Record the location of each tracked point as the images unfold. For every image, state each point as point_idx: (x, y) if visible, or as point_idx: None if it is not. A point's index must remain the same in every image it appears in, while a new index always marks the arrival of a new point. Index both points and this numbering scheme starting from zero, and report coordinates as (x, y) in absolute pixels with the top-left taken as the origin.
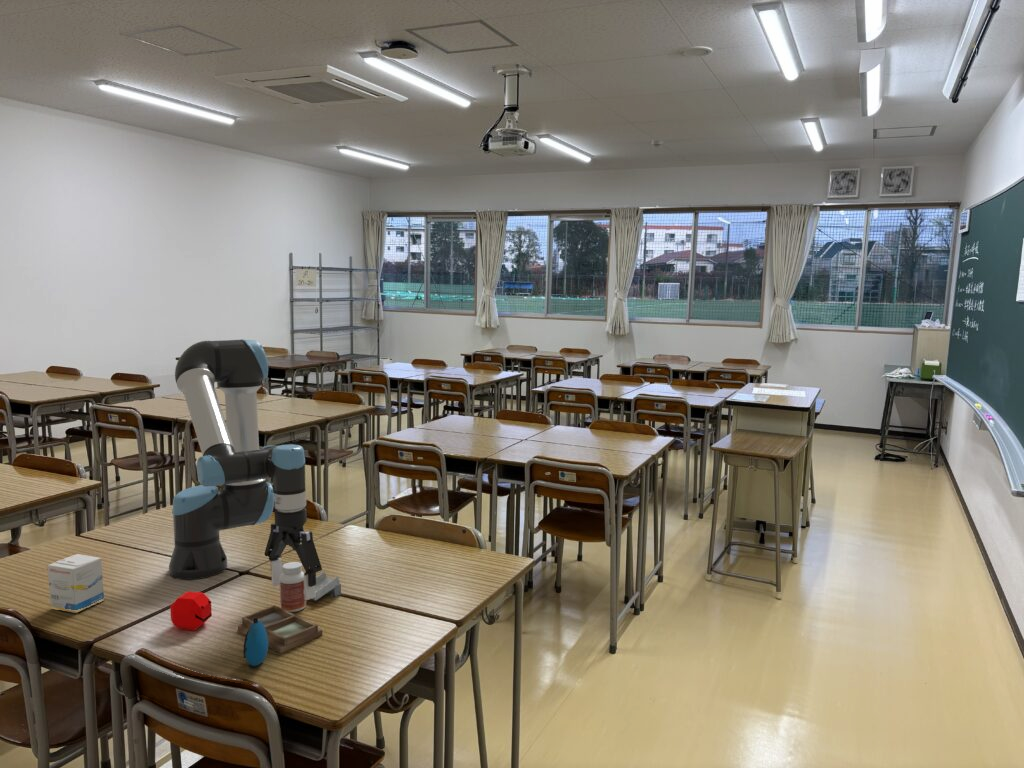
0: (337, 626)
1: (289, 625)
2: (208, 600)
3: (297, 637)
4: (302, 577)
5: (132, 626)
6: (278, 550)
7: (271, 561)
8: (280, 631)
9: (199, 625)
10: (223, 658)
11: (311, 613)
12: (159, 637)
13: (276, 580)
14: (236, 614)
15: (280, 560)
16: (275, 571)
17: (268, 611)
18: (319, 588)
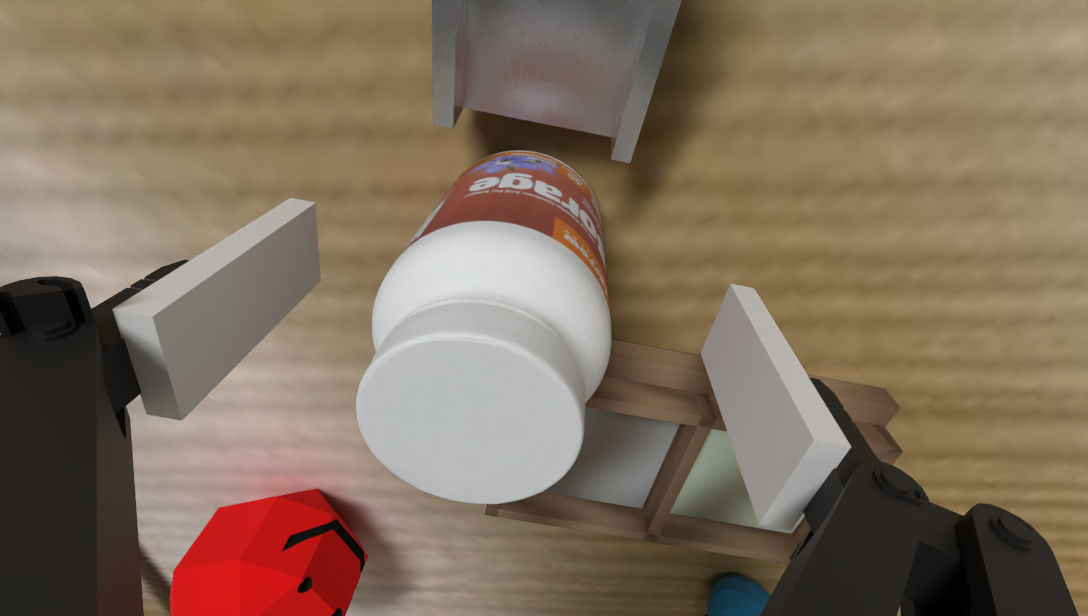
0: (931, 294)
1: (707, 440)
2: (294, 592)
3: None
4: (608, 340)
5: (162, 568)
6: (129, 543)
7: (156, 415)
8: (704, 486)
9: (361, 546)
10: (611, 595)
11: (681, 236)
12: None
13: (297, 277)
14: (341, 399)
15: (166, 326)
16: (250, 326)
17: None
18: (632, 81)
